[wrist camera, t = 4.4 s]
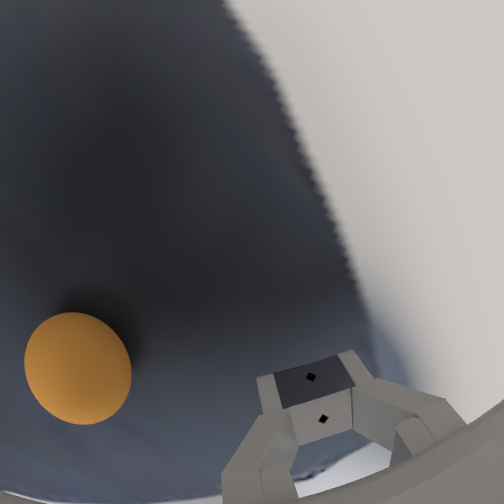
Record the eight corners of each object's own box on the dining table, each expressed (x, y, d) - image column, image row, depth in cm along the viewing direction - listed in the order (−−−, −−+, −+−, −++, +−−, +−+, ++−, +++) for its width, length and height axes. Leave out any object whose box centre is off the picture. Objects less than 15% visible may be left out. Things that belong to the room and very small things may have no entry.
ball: (122, 392, 16) (102, 461, 11) (44, 348, 15) (3, 406, 9) (156, 327, 15) (136, 398, 10) (65, 275, 14) (10, 325, 8)
